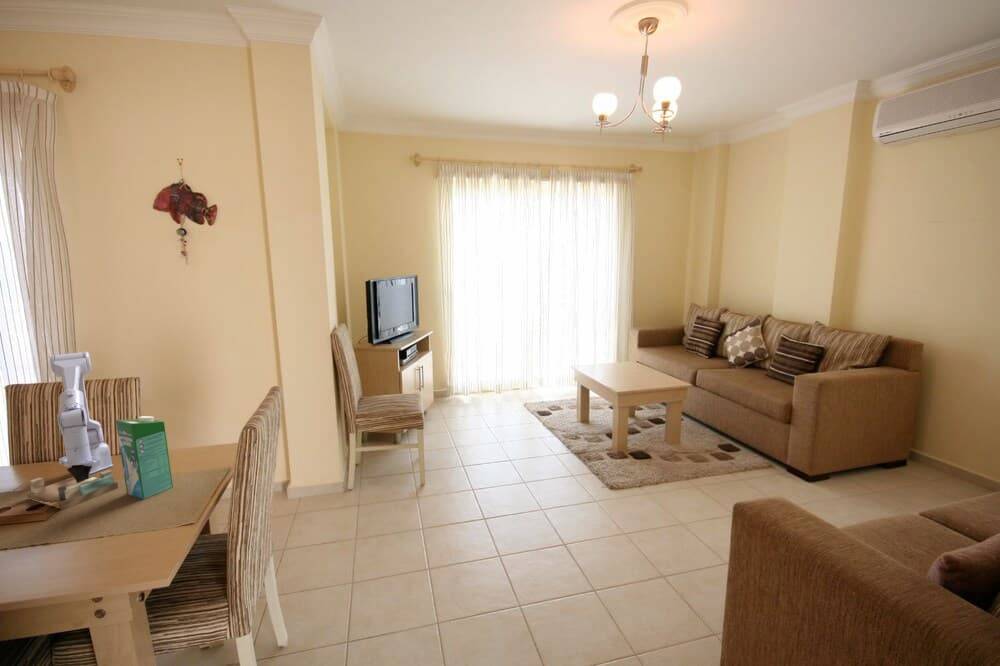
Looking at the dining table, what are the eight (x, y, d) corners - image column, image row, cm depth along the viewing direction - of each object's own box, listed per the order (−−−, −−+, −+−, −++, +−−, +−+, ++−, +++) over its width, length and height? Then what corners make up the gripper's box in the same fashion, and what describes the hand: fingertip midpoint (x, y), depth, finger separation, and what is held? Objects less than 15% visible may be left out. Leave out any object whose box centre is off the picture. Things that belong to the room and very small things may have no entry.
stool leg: (62, 500, 141) (60, 489, 140) (57, 499, 141) (55, 488, 141) (99, 485, 150) (97, 475, 149) (94, 484, 151) (92, 474, 150)
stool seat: (84, 478, 160) (81, 462, 159) (118, 487, 153) (115, 470, 152) (28, 499, 147) (24, 481, 146) (61, 509, 139) (58, 491, 138)
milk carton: (173, 486, 153) (163, 414, 149) (142, 499, 145) (131, 423, 141) (157, 482, 156) (147, 411, 153) (126, 494, 148) (115, 420, 145)
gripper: (45, 449, 144) (52, 490, 146) (80, 452, 141) (87, 493, 143) (70, 441, 151) (76, 479, 153) (105, 443, 148) (111, 483, 150)
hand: (83, 486), depth 148 cm, fingers closed, pressing on stool leg
